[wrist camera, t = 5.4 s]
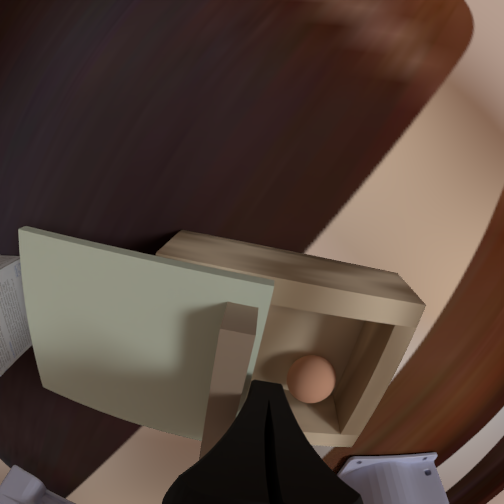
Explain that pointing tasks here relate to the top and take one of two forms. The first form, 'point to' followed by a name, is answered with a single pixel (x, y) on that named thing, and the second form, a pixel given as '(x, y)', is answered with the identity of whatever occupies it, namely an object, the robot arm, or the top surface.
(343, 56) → the top surface
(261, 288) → the lid
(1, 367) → the light bulb box
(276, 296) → the pine box
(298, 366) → the ball
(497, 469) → the top surface
